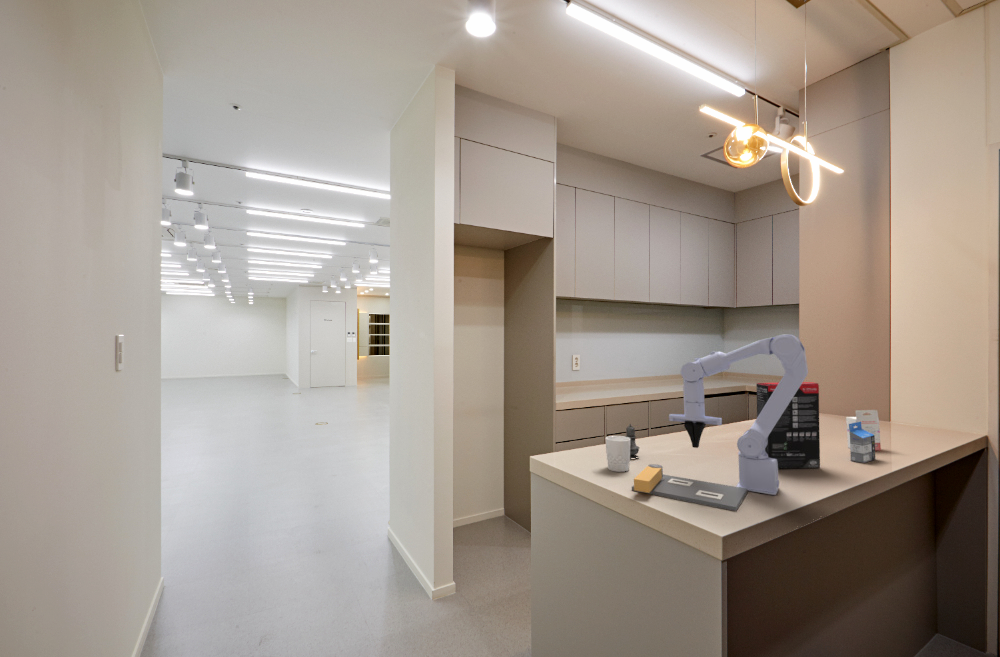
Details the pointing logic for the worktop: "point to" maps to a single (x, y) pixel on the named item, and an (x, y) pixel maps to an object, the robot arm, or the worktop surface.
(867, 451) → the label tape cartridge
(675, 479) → the label board
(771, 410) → the robot arm
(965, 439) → the worktop surface
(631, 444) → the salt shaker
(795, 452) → the graphics card box
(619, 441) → the white cup
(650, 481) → the swing bar
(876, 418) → the ink cartridge box
